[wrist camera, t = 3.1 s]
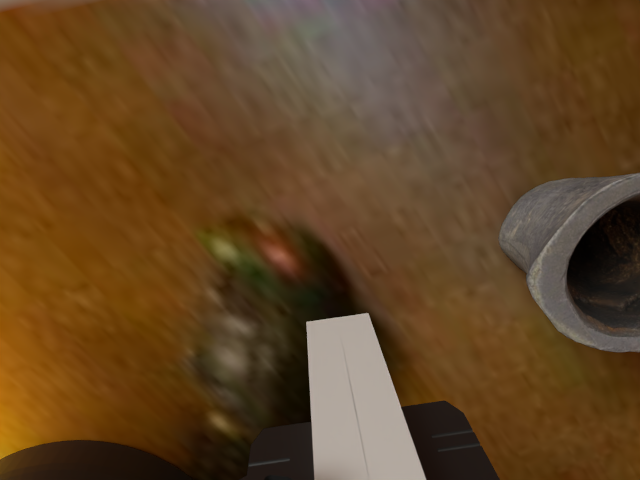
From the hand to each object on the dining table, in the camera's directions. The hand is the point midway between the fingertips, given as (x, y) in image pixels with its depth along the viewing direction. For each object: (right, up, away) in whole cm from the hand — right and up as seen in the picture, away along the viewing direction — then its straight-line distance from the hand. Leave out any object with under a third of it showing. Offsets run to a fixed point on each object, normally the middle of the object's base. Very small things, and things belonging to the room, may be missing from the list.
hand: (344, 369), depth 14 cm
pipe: (+12, +5, +13) cm, 18 cm away
